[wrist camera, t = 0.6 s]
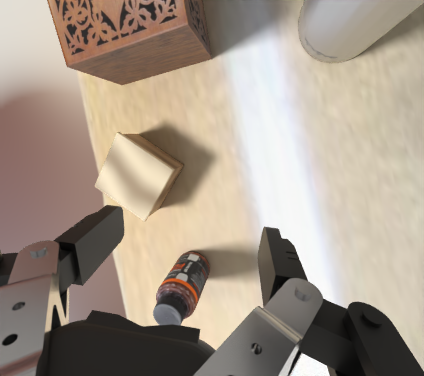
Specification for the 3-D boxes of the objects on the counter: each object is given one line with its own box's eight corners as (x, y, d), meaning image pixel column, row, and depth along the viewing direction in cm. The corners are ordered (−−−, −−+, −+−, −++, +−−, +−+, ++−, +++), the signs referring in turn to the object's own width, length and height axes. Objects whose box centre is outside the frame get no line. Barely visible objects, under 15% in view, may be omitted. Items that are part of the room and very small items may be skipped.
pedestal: (137, 132, 34) (117, 132, 29) (185, 164, 33) (172, 170, 29) (115, 179, 37) (94, 186, 32) (159, 210, 37) (144, 221, 32)
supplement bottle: (189, 243, 37) (160, 288, 26) (217, 264, 37) (198, 319, 26) (172, 265, 39) (138, 315, 28) (198, 285, 39) (173, 344, 28)
